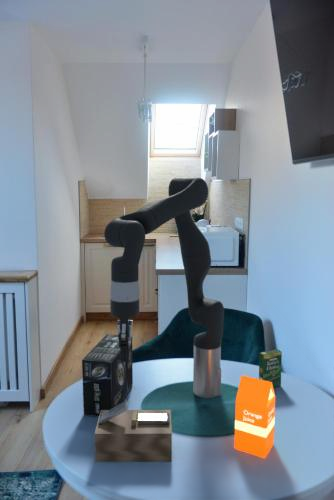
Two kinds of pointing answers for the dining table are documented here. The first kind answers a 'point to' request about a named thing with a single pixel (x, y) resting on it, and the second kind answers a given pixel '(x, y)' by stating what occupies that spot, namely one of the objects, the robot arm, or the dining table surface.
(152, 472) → the dining table surface
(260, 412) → the orange juice
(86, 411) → the box
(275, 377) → the coffee box
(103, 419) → the clasp
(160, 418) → the clasp
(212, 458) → the dining table surface
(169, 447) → the wooden latch case
